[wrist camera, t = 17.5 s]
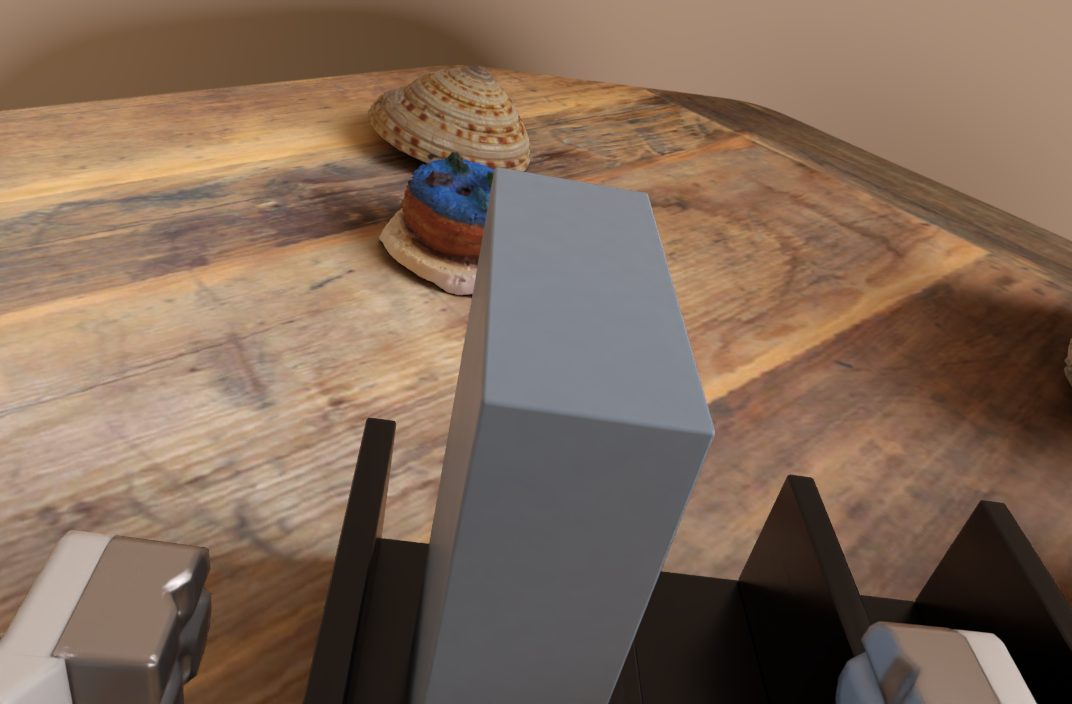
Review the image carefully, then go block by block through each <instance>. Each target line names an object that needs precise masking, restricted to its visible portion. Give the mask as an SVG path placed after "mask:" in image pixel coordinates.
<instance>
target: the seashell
mask: <svg viewBox="0 0 1072 704" xmlns="http://www.w3.org/2000/svg"><path fill="white" fill-rule="evenodd" d="M369 114H370V115H369V121H370V122H371V125H372V126H373V128H374V129H375V131H376V132H377V133H378V134H379V135H380V136H381V137H382V138H383V139H384V140H386V141H387V142H388V143H390V144H391V145H393V146H394V147H395V148H397V149H398V150H400V151H402V152H404V153H406V154H408V155H409V156H412V157H414V158H416V159H418V160H421V161H423V162H425V163H430V162H433V161H434V160H438V159H445V158H447V157H448V156H449V155H450V154H451V152H455V153H456V152H458V153H459V155H460V157H461V158H463V160H466V159H467V160H468V161H471V162H474V163H480V164H481V165H484V166H485V165H487V167H489V168H491V169H494V170H495V168H504V169H510V170H515V171H521V172H523V171H524V170H526V168H527V167H528V165H529V160H530V142H529V139H528V135H527V132H526V129H525V127H524V125H523V122H522V120H521V119H520V116H519V114H518V111H517V109H516V107H515V106H514V104H513V102H512V101H511V99H510V98H509V97H508V95H507V94H506V93H505V91H504V89H503V88H502V87H501V86H500V85H499V84H498V83H497V82H496V81H495V80H494V79H493V78H492V76H491V75H490V73H489V72H488V71H487V70H486V69H485V67H482V66H472V67H458V68H452V69H442V70H438V71H434V72H432V73H429V74H425V75H423V76H421V77H419V78H417V79H416V80H414V81H413V82H412V83H411V84H409V85H408V86H404V87H401V88H399V89H396V90H391V91H387V92H385V93H384V94H383V95H381V96H380V97H379V98H378V99H377V101H376V102H374V103H373V104H372V106H371V108H370V110H369Z"/></svg>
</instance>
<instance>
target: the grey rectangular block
mask: <svg viewBox="0 0 1072 704" xmlns="http://www.w3.org/2000/svg"><path fill="white" fill-rule="evenodd" d="M714 435H715V430H714V427H713V423H712V419H711V416H710V412H709V409H708V405H707V402H706V398H705V395H704V391H703V388H702V384H701V381H700V377H699V374H698V370H697V366H696V363H695V359H694V356H693V352H692V349H691V345H690V342H689V338H688V335H687V331H686V328H685V324H684V321H683V317H682V313H681V310H680V306H679V303H678V299H677V296H676V292H675V289H674V285H673V282H672V278H671V275H670V271H669V267H668V264H667V260H666V257H665V253H664V250H663V246H662V243H661V239H660V236H659V232H658V229H657V225H656V222H655V218H654V214H653V211H652V207H651V204H650V200H649V197H648V194H646V193H643V192H637V191H632V190H626V189H620V188H614V187H608V186H602V185H597V184H591V183H585V182H579V181H573V180H568V179H562V178H556V177H550V176H544V175H539V174H533V173H527V172H521V171H515V170H510V169H504V168H495V170H494V174H493V180H492V186H491V192H490V197H489V203H488V209H487V215H486V220H485V226H484V232H483V238H482V243H481V249H480V255H479V261H478V266H477V272H476V278H475V284H474V290H473V295H472V301H471V307H470V313H469V318H468V324H467V330H466V336H465V341H464V347H463V353H462V359H461V364H460V370H459V376H458V382H457V387H456V393H455V399H454V405H453V410H452V416H451V422H450V428H449V434H448V439H447V445H446V451H445V457H444V462H443V468H442V474H441V480H440V485H439V491H438V497H437V503H436V508H435V514H434V520H433V526H432V531H431V537H430V543H429V549H428V555H427V560H426V566H425V572H424V578H423V583H422V589H421V595H420V601H419V606H418V612H417V618H416V624H415V629H414V635H413V641H412V648H411V657H410V665H409V673H408V682H407V690H406V698H405V704H608V703H609V700H610V698H611V695H612V693H613V690H614V688H615V685H616V682H617V680H618V677H619V675H620V672H621V670H622V667H623V665H624V662H625V660H626V657H627V655H628V652H629V650H630V647H631V645H632V642H633V640H634V637H635V635H636V632H637V630H638V627H639V624H640V622H641V619H642V617H643V614H644V612H645V609H646V607H647V604H648V602H649V599H650V597H651V594H652V592H653V589H654V587H655V584H656V582H657V579H658V577H659V574H660V571H661V569H662V566H663V564H664V561H665V559H666V556H667V554H668V551H669V549H670V546H671V544H672V541H673V539H674V536H675V534H676V531H677V529H678V526H679V524H680V521H681V519H682V516H683V513H684V511H685V508H686V506H687V503H688V501H689V498H690V496H691V493H692V491H693V488H694V486H695V483H696V481H697V478H698V476H699V473H700V471H701V468H702V466H703V463H704V461H705V458H706V455H707V453H708V450H709V448H710V445H711V443H712V440H713V438H714Z"/></svg>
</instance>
